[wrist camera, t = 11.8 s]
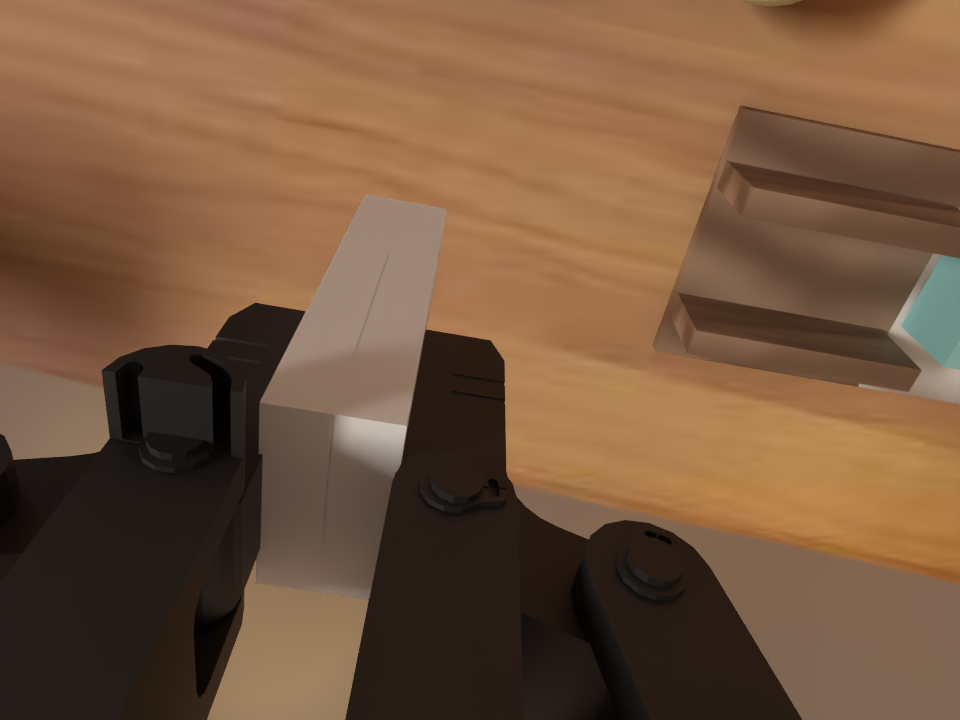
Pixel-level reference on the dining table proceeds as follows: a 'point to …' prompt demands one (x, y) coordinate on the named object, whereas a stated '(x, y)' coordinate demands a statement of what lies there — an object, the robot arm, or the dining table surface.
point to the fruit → (772, 2)
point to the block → (939, 314)
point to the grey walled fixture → (818, 255)
